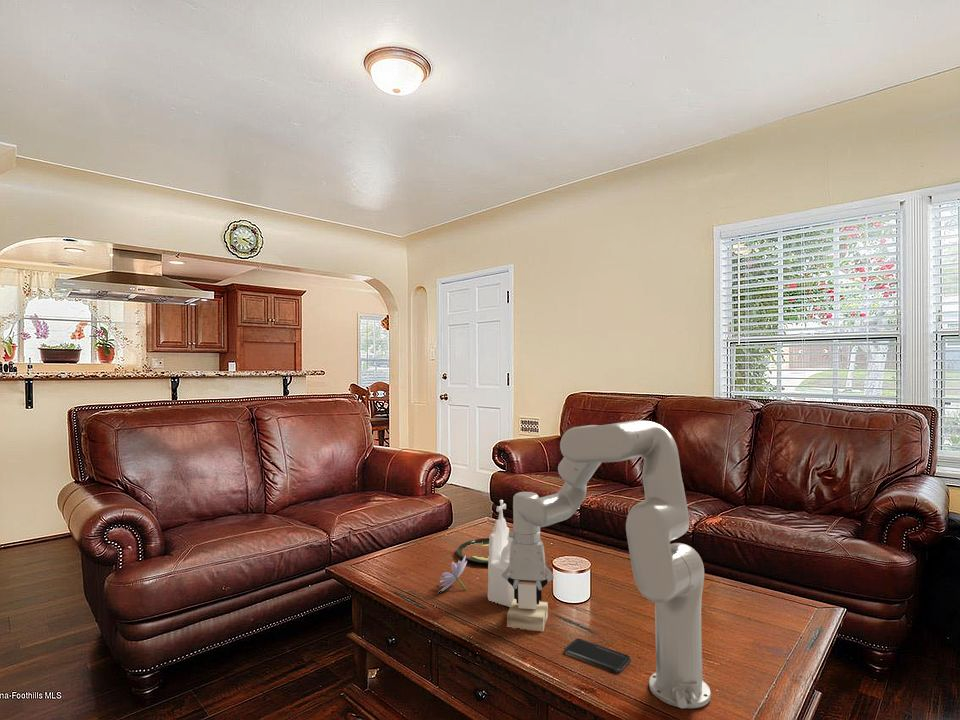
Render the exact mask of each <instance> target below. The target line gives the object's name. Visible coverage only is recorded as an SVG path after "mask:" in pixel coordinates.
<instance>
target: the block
mask: <svg viewBox="0 0 960 720" xmlns="http://www.w3.org/2000/svg"><path fill="white" fill-rule="evenodd" d="M508 608H509V609H508V611H507V613H506V628H507V627H512V628H511V629H516V628H520V629H519V630H525V629H526V630H527V631H536V632H544V630H545V626H546V624H547V620H548V617H549V602H548V601H542V600H539V605H537V609H525V608H519V607H518V603H517V601H516V599H514V600H513V602H512V604H511V606H510V607H508Z"/></svg>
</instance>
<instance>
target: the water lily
mask: <svg viewBox="0 0 960 720" xmlns="http://www.w3.org/2000/svg"><path fill="white" fill-rule="evenodd" d="M467 563H468V560H467V559H466V555H465V556H464V558H462V560H458V562H456V563H455V562H454V561H452V562H451V564H450V565H451V566H450V567H451V571H450V572H447V571H445V572H442V573H441V575H442V576H443V577H439V579H441V580H440V581H439V582H440V583H443V584H441V585H439V586H438V588H441V589H440V590H439V591H438V593H439V592H440V591H442V592H444V591H445V590H447V589H448V588H449V587H451V585H453V584H454V583H455V581H456V580H457V582H458V583H459V584H460V585H461V587H462V588H463V590H464V589H465V588H466V587H465V585H464V584H463V582H462V581H461V579H460V576H461V575H462V573H463V572H464V570H465V568H466V566H467ZM440 593H441V592H440Z"/></svg>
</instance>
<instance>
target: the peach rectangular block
mask: <svg viewBox="0 0 960 720" xmlns="http://www.w3.org/2000/svg"><path fill="white" fill-rule="evenodd" d="M536 590H537V584H536V581H528V580H519V582H518V607H519V608H525V609H537V595H536Z"/></svg>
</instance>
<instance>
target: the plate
mask: <svg viewBox="0 0 960 720" xmlns="http://www.w3.org/2000/svg"><path fill="white" fill-rule="evenodd" d="M482 542H483V545H482V546H489V537H483V538H482V537H481V538H476V539H471V540H468V541H465V542H463V543H462V544H460V545H458V547H457V549H456V553H457V555H458V556H459V558H461V559H463V558H464V556H463V555H462V549H463V548H465V547H466V546H467V545H470V544H474V543H482ZM465 560H466V561H470V562H473V563H477V564H484V565H485V564H486V565H488V558H484V557H477V556H472V557H471V558H466V559H465Z"/></svg>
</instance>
